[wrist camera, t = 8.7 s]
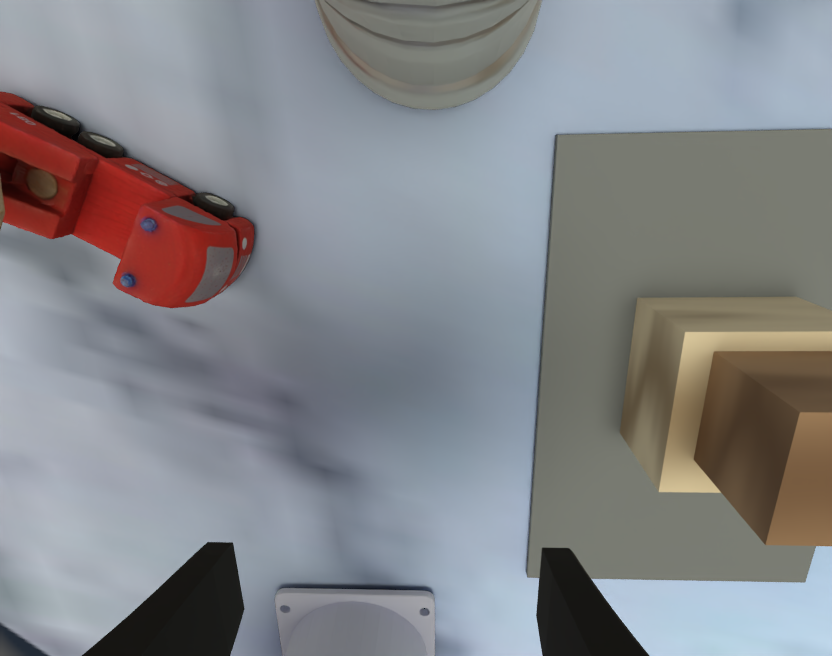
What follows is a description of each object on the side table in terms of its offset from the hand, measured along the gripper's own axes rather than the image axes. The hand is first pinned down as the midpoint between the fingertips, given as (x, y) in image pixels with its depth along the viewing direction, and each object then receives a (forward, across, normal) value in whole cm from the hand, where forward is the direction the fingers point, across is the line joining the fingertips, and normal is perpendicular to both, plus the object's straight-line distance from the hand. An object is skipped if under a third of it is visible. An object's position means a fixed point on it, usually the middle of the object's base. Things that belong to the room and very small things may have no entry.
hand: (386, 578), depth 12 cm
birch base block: (+10, -12, -1) cm, 16 cm away
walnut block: (+6, -12, -1) cm, 14 cm away
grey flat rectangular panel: (+10, -12, 0) cm, 16 cm away
